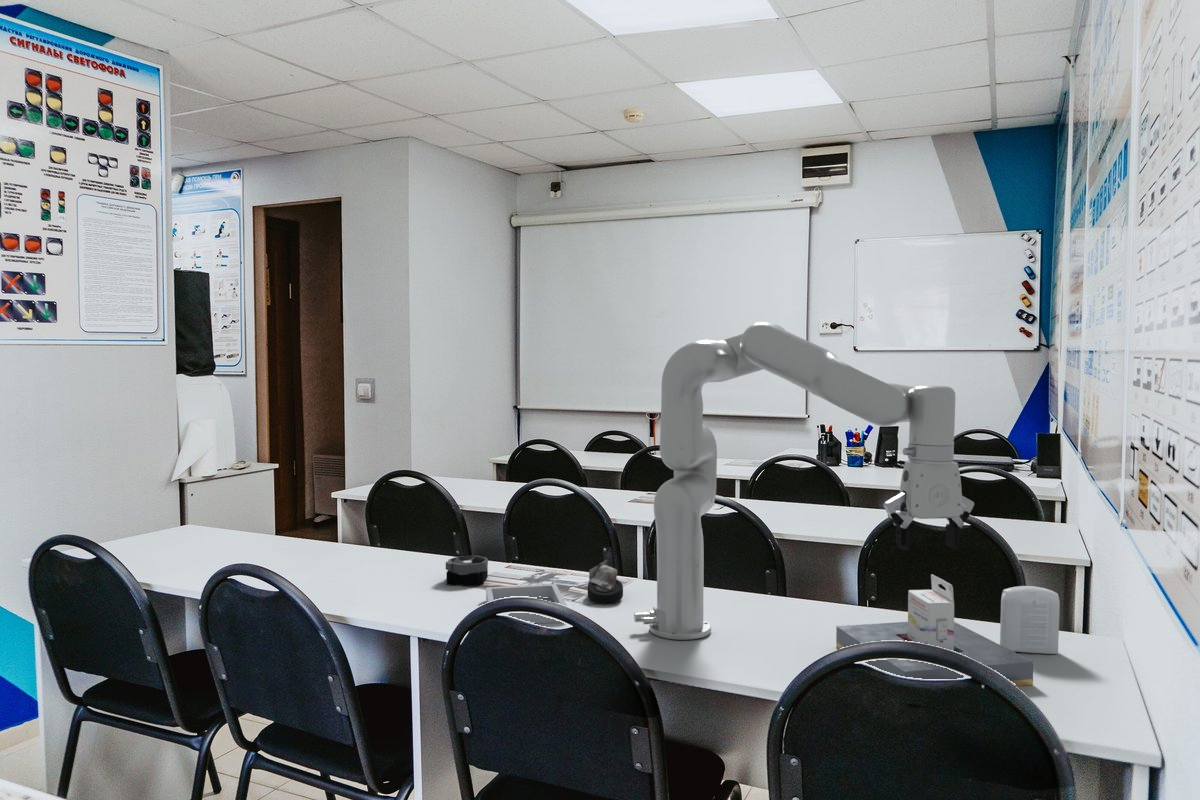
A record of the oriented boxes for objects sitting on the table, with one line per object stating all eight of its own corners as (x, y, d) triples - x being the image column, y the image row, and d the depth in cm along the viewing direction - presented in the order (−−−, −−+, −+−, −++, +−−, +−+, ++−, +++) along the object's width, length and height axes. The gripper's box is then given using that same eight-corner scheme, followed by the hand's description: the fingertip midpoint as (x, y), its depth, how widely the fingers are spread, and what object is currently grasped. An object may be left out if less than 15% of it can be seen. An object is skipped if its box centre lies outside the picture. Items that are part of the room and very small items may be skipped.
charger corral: (490, 626, 172) (490, 612, 172) (486, 600, 191) (486, 587, 191) (568, 621, 175) (567, 607, 175) (556, 596, 194) (556, 584, 194)
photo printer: (1053, 648, 158) (1054, 584, 158) (1062, 656, 154) (1063, 590, 153) (996, 645, 160) (997, 582, 159) (1003, 653, 155) (1004, 588, 155)
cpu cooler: (490, 554, 213) (484, 564, 203) (491, 576, 214) (484, 587, 204) (451, 554, 214) (442, 564, 204) (451, 576, 214) (443, 586, 204)
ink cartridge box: (905, 651, 153) (906, 573, 153) (931, 650, 154) (932, 572, 153) (928, 668, 145) (929, 585, 144) (954, 667, 145) (956, 585, 145)
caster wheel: (608, 617, 187) (575, 602, 193) (638, 596, 195) (605, 583, 201) (607, 591, 185) (574, 577, 191) (638, 571, 193) (605, 558, 199)
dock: (903, 695, 136) (904, 671, 135) (836, 646, 159) (836, 626, 159) (1032, 684, 140) (1033, 661, 140) (948, 638, 164) (948, 618, 163)
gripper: (898, 457, 143) (895, 554, 144) (987, 456, 146) (983, 551, 147) (875, 452, 150) (873, 544, 151) (961, 451, 153) (958, 542, 154)
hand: (927, 548), depth 149 cm, fingers open, 9 cm apart
